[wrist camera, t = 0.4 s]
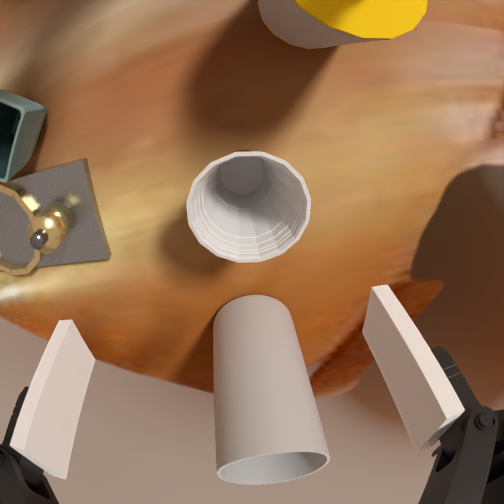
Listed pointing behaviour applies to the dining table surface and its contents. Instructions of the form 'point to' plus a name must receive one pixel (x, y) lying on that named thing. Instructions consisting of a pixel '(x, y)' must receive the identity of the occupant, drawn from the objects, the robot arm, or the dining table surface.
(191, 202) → the plastic cup
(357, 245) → the dining table surface
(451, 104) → the dining table surface
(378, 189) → the dining table surface
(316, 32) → the soap bottle
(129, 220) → the dining table surface
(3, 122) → the flower pot
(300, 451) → the cylinder vase
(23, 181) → the board
